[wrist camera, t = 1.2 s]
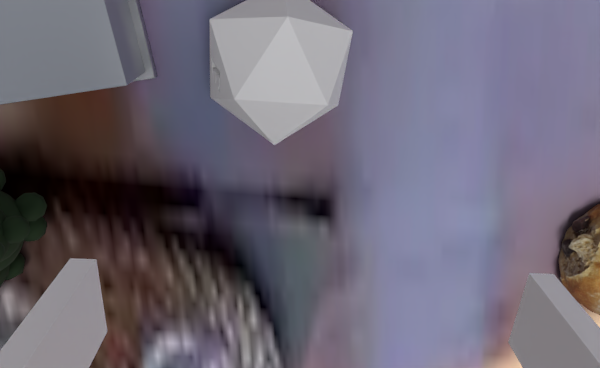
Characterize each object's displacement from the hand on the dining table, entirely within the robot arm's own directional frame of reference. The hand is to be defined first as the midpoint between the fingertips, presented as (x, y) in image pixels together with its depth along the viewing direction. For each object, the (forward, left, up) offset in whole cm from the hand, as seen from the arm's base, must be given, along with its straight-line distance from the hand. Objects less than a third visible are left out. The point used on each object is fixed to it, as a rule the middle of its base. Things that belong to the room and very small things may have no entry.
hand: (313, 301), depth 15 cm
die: (+1, +5, -21) cm, 22 cm away
